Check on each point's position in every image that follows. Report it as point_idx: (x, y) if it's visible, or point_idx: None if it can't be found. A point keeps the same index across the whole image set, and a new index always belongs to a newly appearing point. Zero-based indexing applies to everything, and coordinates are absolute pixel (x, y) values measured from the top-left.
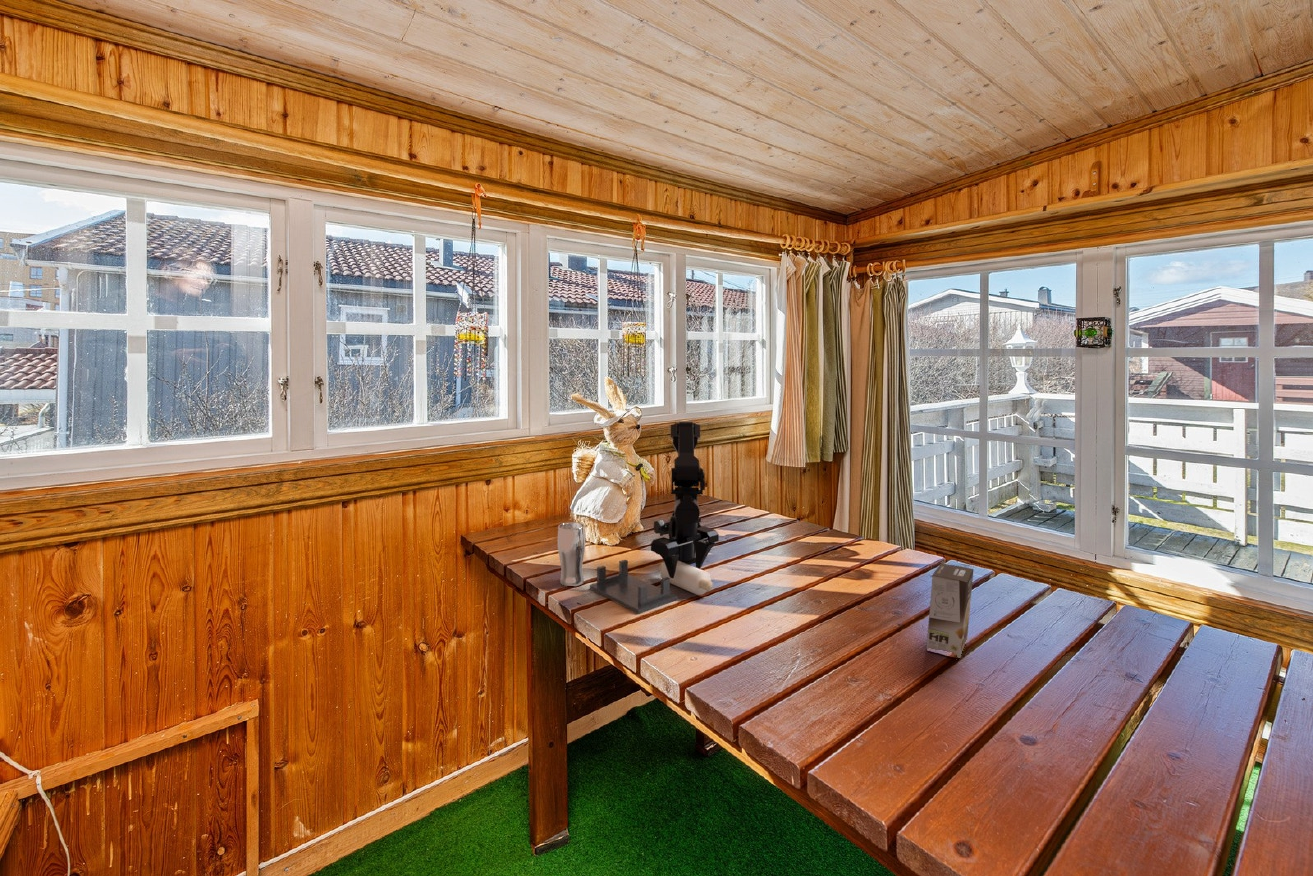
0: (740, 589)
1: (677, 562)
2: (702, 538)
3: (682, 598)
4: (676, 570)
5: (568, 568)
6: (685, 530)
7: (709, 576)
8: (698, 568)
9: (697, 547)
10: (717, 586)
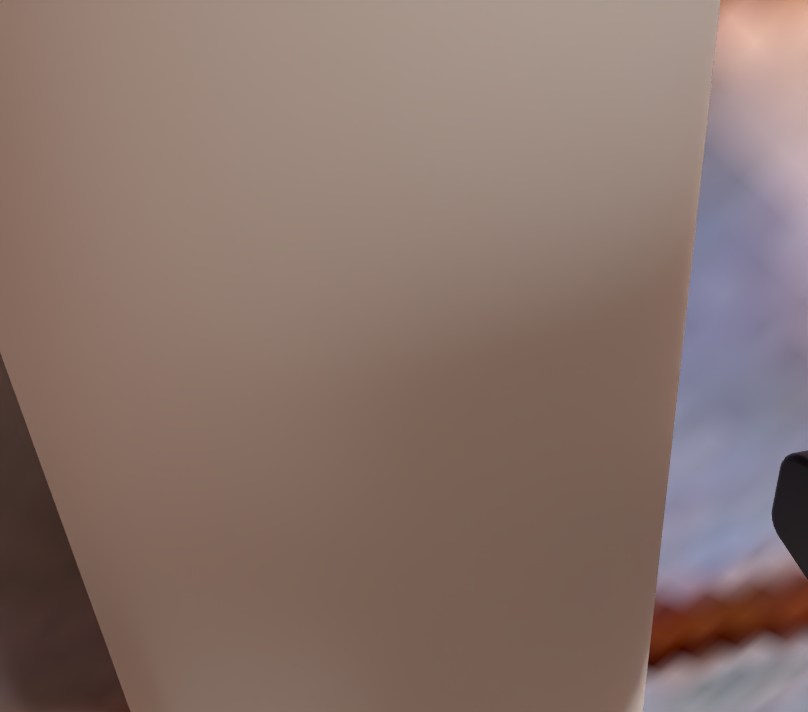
0: (802, 709)
1: (381, 511)
2: None
3: (69, 693)
4: (125, 663)
5: None
6: None
7: None
8: (790, 530)
9: None
10: (711, 569)
